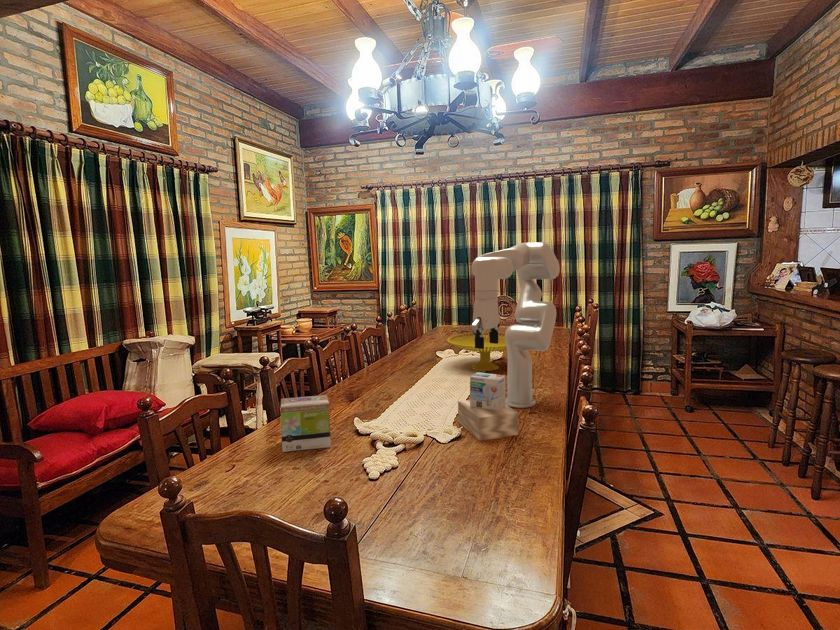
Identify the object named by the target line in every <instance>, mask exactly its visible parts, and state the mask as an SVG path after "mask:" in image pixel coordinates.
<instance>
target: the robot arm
mask: <svg viewBox="0 0 840 630" xmlns="http://www.w3.org/2000/svg"><path fill="white" fill-rule="evenodd" d="M559 263H560V262H559V260H558V259H557V256H556V254H555V253H554V251H553V249H552V248H551V246H550V245H549V244H548V243H546V242H543V241H539V242H538V241H536V242H535V241H534V242H533V241H532V242H528V241H527V242H521V243H517V244H516V245H513V246H512V247H509V248H505V249H501V250H496V251H492V252H487V253H484V254H481V255H478V256H477V257H476V258H475V259H473V262H472V264H471V272H472V275H473V276H474V293H475V294H474V303H473V312H472V324H471V328H472V329H471V330H472V333H474V336H473V338H474V337H475V338H474V340H475V348H478V349H484V337H483V334H484V333H485V332H486V331H489V330H490V331H489V332H488V340H489V342H490V343H494V344H498V340H499V339H498V336H499V334H498V333H499V332H500V323H501V317H500V316H499V315H500V313H499V303H498V300H499V298H498V297H499V292H498V291H499V280H505V279H508V278H509V277H511V276H512V274H513V273H514V272H516V274H517V278H518V283H519V287H520V288H519V289H520V293H519V297H518V301H517V304H516V309H515V312H514V318H515V320H516V322H517V323H518V324H516V323H515V324H511V325H509V326H508V327H506V329H505V332H504V334H505V335H504V337H505V338H504V340H505V341H506V346H507V350H506V353H507V354H506V355H507V359H506V360H507V365H506V367H507V370H506V372H507V375H506V376H507V377H506V378H507V379H506V380H507V385H506V386H507V387H506V388H507V391H506V395H507V396H505V404H506V405H507V406H509V407H510V408H517V409H524V408H526V409H527V408H532V407H534V406H535V405H536V399H534V398H533V394H534V393H535V389H534V388H532V387H533V359H532V356H531V355H530V353H529V351H535V352H536V351H537V352H544V351H547V350H548V349H549V348H550V345H551V342H552V337H553V332H554V329H555V325H556V320H557V308H556V305H555V304H554V303H553V302H550V301H542V300H541V299H542V296H543V292H542V288H540V287H539V285H538V283H536V281H535V280H554V279H556V278H558V276H559V274H560V271H561V270H560V264H559Z"/></svg>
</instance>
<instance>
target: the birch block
mask: <svg viewBox="0 0 840 630" xmlns="http://www.w3.org/2000/svg"><path fill="white" fill-rule="evenodd" d="M457 409H458V410H457V415H458V416H457V419H458V421H457V422H458V423H459V424H460V425H461V426H462V427H463V428H464V429H466V431H468V432H469V433H470V434H472V436H473V437H474V438H476V439H477V440H478V441H480V442H481V441H486V440H493V439H500V438H505V437H511V436H512V437H513V435H514V436H518V435H519V412H518V411H516V409H513V407H511V406H507V405H506V404H505V406H504V407H503V408H502V409H500V410H499V411H494V410H488V409H482V408H477V407H471V406H470V399H466V400H460V401H459V400H458V401H457Z"/></svg>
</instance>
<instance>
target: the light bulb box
mask: <svg viewBox="0 0 840 630" xmlns="http://www.w3.org/2000/svg"><path fill="white" fill-rule="evenodd" d="M506 378H507V377H506V375H505V374H504V375H502V374H495V373H485V372H478V371H477V372H475V373H474V374H472V375H471V376H469V400H470V406H471V407H477V408H482V409H488V410H494V411H499V410H500V409H502V408H503V407H504V406H505V398H506V380H507V379H506Z"/></svg>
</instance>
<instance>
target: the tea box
mask: <svg viewBox="0 0 840 630" xmlns="http://www.w3.org/2000/svg"><path fill="white" fill-rule="evenodd" d="M330 405H331V404H330V402H329V397H328V394H324V395H323V394H322V395H312V396H311V395H310V396H299V397H287V398H285V397H284V398H281V399H280V430H281V434H280V435H281V448H282V449H281V450H282V453H287V452H295V451H303V450H304V451H305V450H314V449H327V448H331V446H332V445H331V444H332V441H331V439H332V438H331V414H330V413H331V411H330V410H331V409H330Z"/></svg>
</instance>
